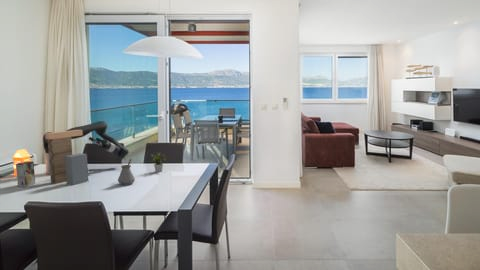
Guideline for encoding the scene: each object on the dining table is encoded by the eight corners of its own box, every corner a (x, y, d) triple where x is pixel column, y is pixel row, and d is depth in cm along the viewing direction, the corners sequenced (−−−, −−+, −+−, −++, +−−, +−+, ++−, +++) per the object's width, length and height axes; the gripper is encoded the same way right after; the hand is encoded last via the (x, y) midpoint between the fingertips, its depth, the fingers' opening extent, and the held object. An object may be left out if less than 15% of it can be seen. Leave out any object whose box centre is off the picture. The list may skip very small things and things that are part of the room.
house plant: (156, 174, 268) (155, 154, 266) (145, 172, 276) (144, 152, 275) (170, 171, 279) (169, 151, 278) (159, 169, 288) (158, 149, 286)
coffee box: (28, 183, 246) (26, 161, 244) (35, 183, 244) (33, 161, 242) (17, 186, 237) (15, 163, 235) (25, 187, 235) (23, 164, 233)
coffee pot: (132, 185, 237) (131, 164, 235) (115, 186, 236) (114, 164, 234) (139, 178, 258) (138, 158, 256) (124, 178, 257) (123, 158, 255)
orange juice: (31, 173, 276) (29, 148, 274) (23, 176, 267) (21, 150, 265) (22, 173, 277) (20, 148, 275) (14, 175, 269) (12, 150, 266)
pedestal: (67, 183, 243) (65, 156, 240) (82, 180, 253) (80, 153, 251) (73, 185, 239) (71, 156, 237) (88, 181, 250) (86, 154, 247)
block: (45, 139, 240) (45, 133, 240) (79, 135, 262) (79, 129, 262) (48, 139, 238) (48, 133, 238) (82, 135, 260) (82, 130, 260)
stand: (51, 182, 246) (47, 138, 242) (69, 178, 258) (66, 136, 254) (55, 183, 243) (52, 139, 239) (74, 179, 255) (71, 136, 251)
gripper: (104, 141, 288) (88, 133, 275) (115, 142, 281) (100, 134, 268) (100, 149, 285) (85, 142, 273) (112, 151, 278) (96, 143, 265)
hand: (92, 138), depth 270 cm, fingers open, 8 cm apart
